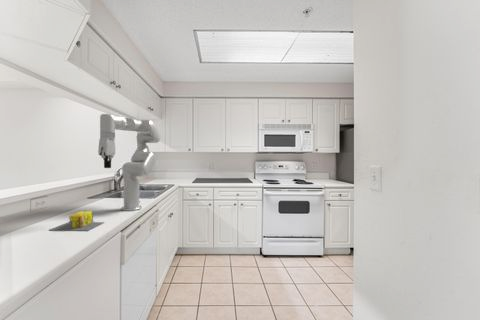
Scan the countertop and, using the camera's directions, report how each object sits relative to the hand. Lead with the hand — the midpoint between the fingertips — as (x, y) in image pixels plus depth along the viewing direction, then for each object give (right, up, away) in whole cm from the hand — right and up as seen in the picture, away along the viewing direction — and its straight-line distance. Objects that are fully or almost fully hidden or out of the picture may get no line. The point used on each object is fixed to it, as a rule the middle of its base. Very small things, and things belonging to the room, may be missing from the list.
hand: (107, 167), depth 141 cm
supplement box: (-6, -26, -8) cm, 28 cm away
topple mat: (-7, -29, -16) cm, 34 cm away
